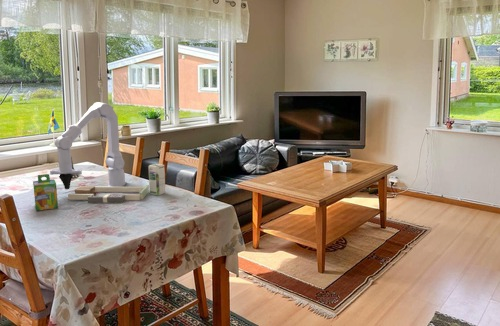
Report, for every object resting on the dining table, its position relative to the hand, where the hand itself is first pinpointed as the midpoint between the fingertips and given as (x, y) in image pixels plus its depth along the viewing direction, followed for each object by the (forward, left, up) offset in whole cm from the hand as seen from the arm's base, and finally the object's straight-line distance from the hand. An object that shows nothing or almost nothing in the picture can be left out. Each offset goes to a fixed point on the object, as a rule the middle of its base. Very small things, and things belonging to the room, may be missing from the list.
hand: (67, 188), depth 215 cm
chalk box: (+18, -2, -4) cm, 18 cm away
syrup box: (-4, +43, -4) cm, 43 cm away
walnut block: (0, +9, -4) cm, 9 cm away
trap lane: (+2, +21, -3) cm, 21 cm away
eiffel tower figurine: (-34, -11, -4) cm, 36 cm away
